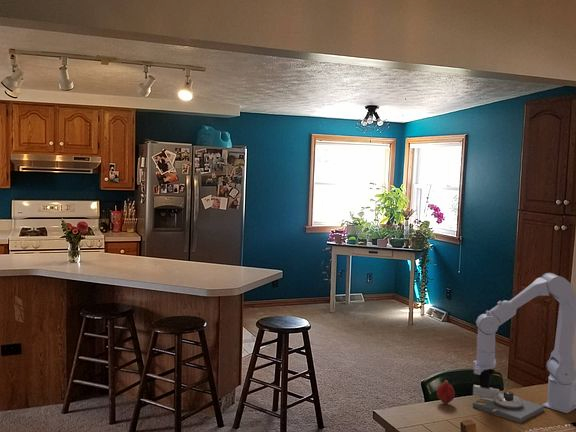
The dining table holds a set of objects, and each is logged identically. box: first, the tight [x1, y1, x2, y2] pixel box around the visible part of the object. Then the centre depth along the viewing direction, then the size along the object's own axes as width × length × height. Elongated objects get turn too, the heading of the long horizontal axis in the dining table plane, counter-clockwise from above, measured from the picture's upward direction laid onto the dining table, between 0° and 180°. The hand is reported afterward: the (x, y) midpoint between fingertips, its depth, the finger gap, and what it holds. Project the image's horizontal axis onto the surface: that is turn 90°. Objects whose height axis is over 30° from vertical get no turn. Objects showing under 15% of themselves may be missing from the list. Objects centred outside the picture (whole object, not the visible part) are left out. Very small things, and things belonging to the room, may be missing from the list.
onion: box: [436, 380, 456, 405], centre depth 180 cm, size 6×6×8 cm
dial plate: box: [472, 391, 545, 424], centre depth 177 cm, size 16×18×2 cm
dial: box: [472, 384, 524, 409], centre depth 179 cm, size 16×9×4 cm, turn 59°
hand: (484, 390), depth 182 cm, fingers closed, pressing on dial
